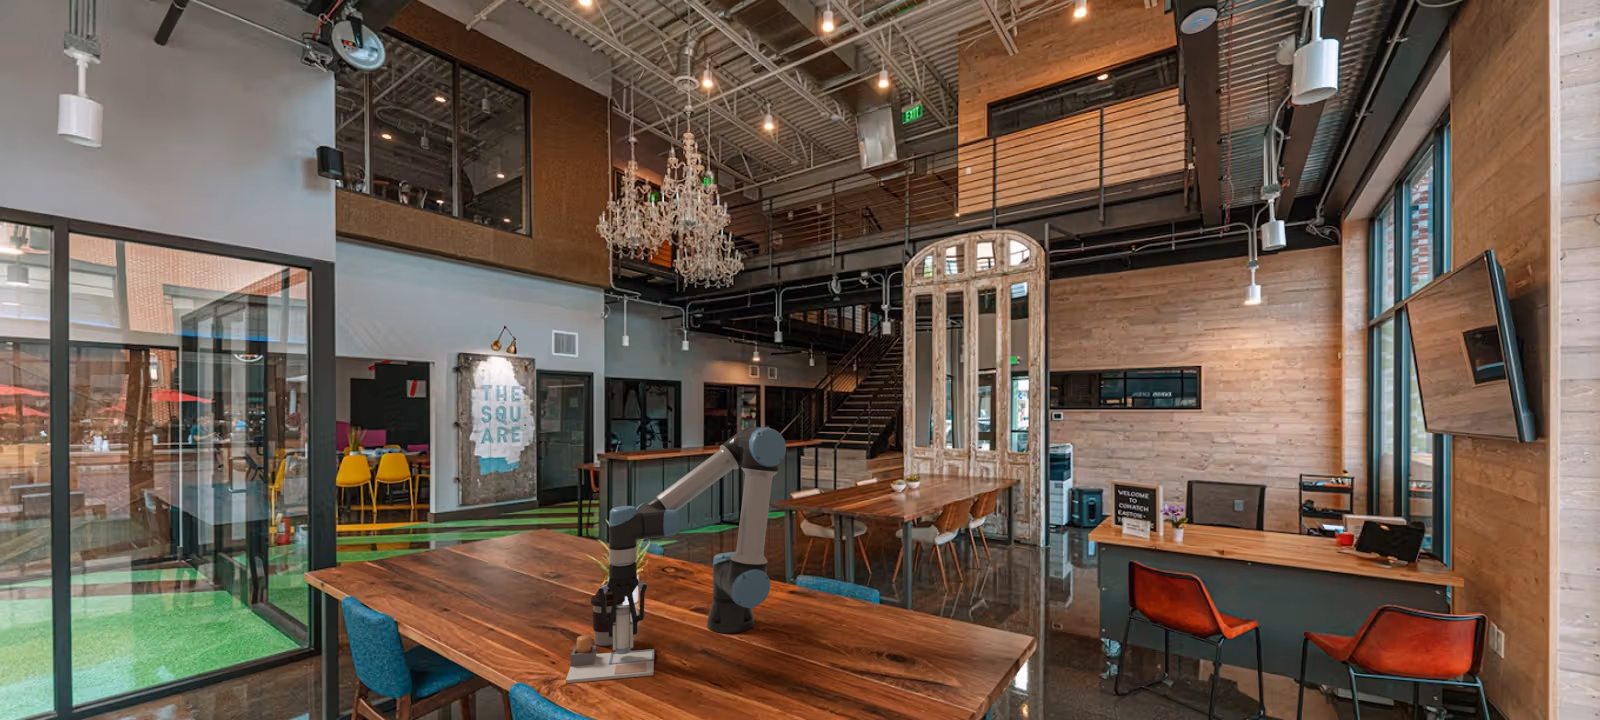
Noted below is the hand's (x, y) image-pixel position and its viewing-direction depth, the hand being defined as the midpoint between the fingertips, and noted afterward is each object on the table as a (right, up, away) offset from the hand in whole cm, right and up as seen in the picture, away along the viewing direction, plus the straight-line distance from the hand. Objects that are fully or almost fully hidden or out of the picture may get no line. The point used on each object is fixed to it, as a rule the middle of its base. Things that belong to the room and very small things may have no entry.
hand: (623, 647), depth 174 cm
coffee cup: (-9, -5, +14) cm, 17 cm away
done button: (-10, -1, -2) cm, 11 cm away
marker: (0, -1, 0) cm, 1 cm away
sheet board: (-2, -3, -4) cm, 6 cm away
